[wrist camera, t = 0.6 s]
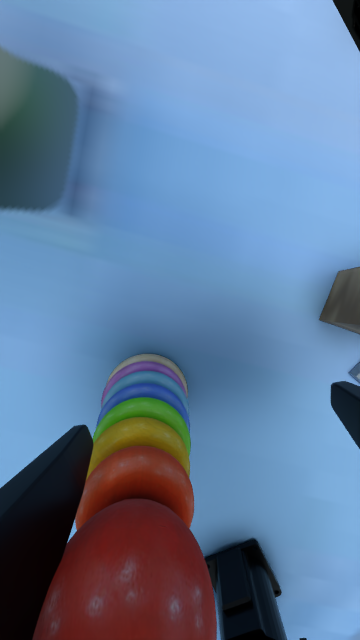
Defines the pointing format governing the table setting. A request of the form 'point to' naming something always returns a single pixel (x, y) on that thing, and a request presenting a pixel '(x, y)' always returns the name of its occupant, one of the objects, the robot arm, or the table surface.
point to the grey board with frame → (356, 372)
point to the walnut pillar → (344, 301)
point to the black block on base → (350, 17)
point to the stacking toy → (135, 522)
